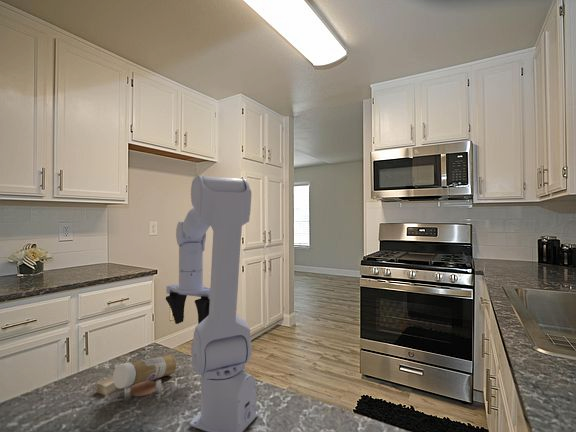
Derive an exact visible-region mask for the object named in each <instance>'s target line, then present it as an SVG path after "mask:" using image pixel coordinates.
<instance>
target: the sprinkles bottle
mask: <svg viewBox="0 0 576 432" xmlns="http://www.w3.org/2000/svg"><path fill="white" fill-rule="evenodd" d="M176 369H177V360H176V358H175V357H174V355H172V354H167V355H162V356H157V357H151V358H146V359H142V360H138V361H133V362H124V363H120V364H118V365H117V366H116V367H115V369H114V370H113V375H112V376H113V382H114V384H115V386H116V387H117V388H119V389H120V390H121V389H124V388H126V387H129V386H131V387H132V386H134V385H136V384H138V383H141V382H145V381H154V380H157V379H160V378H161V377H165V376H171V375H173V374H174V373H175V371H176ZM119 389H118V390H119Z"/></svg>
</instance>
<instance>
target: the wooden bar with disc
mask: <svg viewBox="0 0 576 432" xmlns="http://www.w3.org/2000/svg"><path fill="white" fill-rule="evenodd" d="M155 381H156V380H155ZM155 381H154V380H148V381H144V382H140V383H137V384H133V385H131V396H137V397H139V396H146V395H149V394H152V393H155ZM118 390H119V388H117V387H116V386H115V384H114V382H113V375H111V376H109V377H107V378H105V379H103V380H100V381H98V382H97V383H96V393H97V394H100V395H103V396H108V395H111V394H112V393H114V392H116V391H118Z"/></svg>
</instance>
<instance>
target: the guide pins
mask: <svg viewBox="0 0 576 432" xmlns="http://www.w3.org/2000/svg"><path fill="white" fill-rule="evenodd" d="M131 387H132V385H131V386H129V387H126V388H123V390H124V395H123V398H124V400H129V399H131V397H132V395H131ZM161 393H162V379H160V378H158V379H155V391H154V394H155V395H160V394H161Z"/></svg>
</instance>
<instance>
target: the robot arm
mask: <svg viewBox="0 0 576 432" xmlns="http://www.w3.org/2000/svg"><path fill="white" fill-rule="evenodd" d="M252 195H253V194H252V189H251V187H250V183H248V180H247V179H246V178H244V177H240V178H234V177H233V178H231V177H222V176H221V177H220V176H205V175H201V174H197V175H196V176H195V177H194V178H193V179H192V181H191V187H190V199H191V200H190V201H191V205H192V207H193V208H190V210H188V212H187V213H186V216H185V218H184V220H183V221H178V222H177V225H176V229H175V230H176V231H175V235H176V236H175V238H176V242H177V243H176V244H177V245H178V284H170V285H166V287H165V288H166V292H165V293H166V294H168V295H167V296H165V300H166V302H167V304H168V305H169V308H170V310H171V313H172V316H173V320H174V324H175V325H178V324H181V323H183V322H184V318H185V306H186V300H187V296H189V297H195V298H196V297H198V298H197V299H195V300H194V304H195V307H196V311H197V323H198V324H197V325H196V326H195V328H194V331H193V338H192V342H191V348H190V353H191V355H190V356H191V363H192V368H193V370H194V372H195V373H196V374H198V375H200V414H198V415H196V417H194V418H193V419H192V420H191V421H190V422H189V425H190V426H191V427H193V428H195V429H199V430H200V431H204V432H244V431H245V430H246V429H247V427H248V426H249V425H250V424H251V423H252V422H253V421H254V420H255V419H256V417H257V416H258V415H259V412H258V411H257V384H256V379H255V377H254V376H253V375H251V374H249V373H248V372H246V371H245V370H246V364H247V363H249V361H250V359H251V356H252V352H253V351H252V350H253V347H252V340H251V339H252V338H251V328H250V326H249V323H247V321H246V320H245V319H244V318H242V317H240V316H239V315H237V309H238V306H237V305H238V293H239V292H238V291H239V279H240V278H239V276H240V275H239V274H240V273H239V272H240V261H241V259H240V258H241V256H240V255H241V245H242V244H241V241H242V230H243V229H242V228H243V226H244V225H246V224H247V223H249V222H250V219H251V218H250V216H251V211H252V210H251V207H252ZM210 227H211V229H212V246H211V247H212V249H211V250H212V252H211V253H212V254H211V268H210V269H211V270H210V288H209V287H206V286H205V285H204V284H203V283H204V282H203V278H204V276H203V275H204V274H203V272H204V269H203V268H204V266H203V265H204V262H203V261H204V252H205V245H206V244H205V243H206V239H207V232H208V230H209V228H210Z"/></svg>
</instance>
